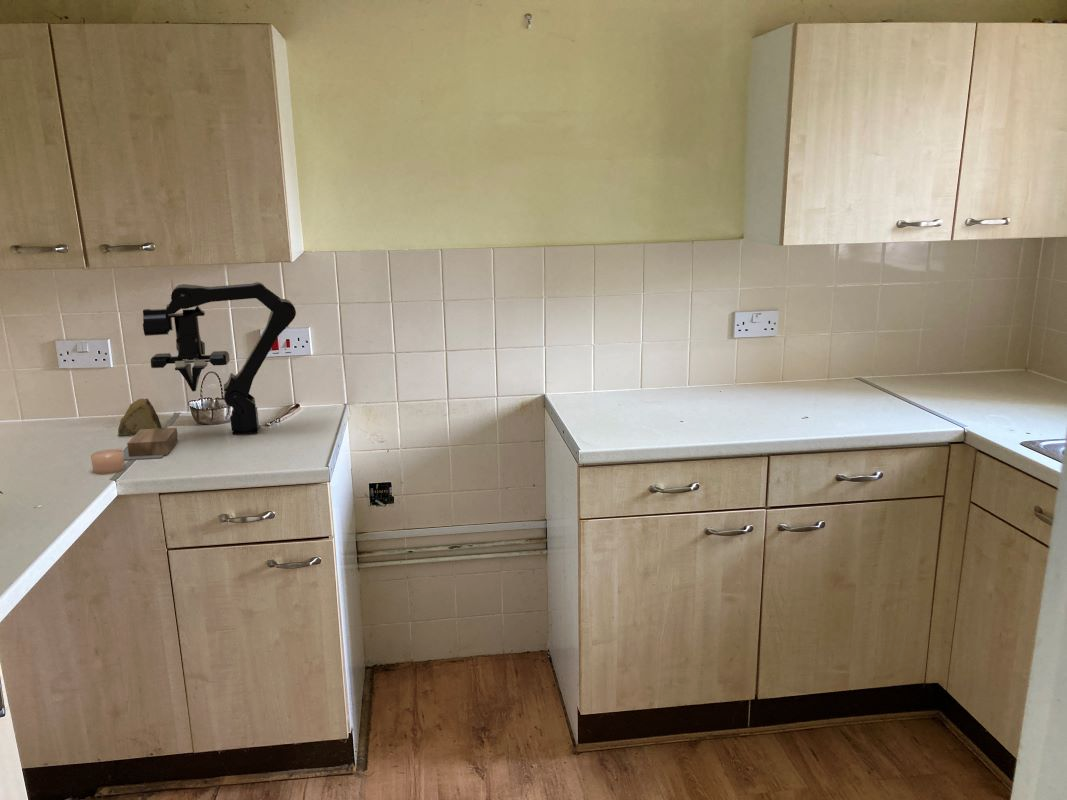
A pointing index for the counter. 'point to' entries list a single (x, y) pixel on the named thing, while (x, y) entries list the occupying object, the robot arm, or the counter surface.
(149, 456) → the mat
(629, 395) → the counter surface
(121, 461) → the peach rounded cylinder
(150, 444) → the slab
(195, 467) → the counter surface
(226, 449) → the counter surface
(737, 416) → the counter surface
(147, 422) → the rock
